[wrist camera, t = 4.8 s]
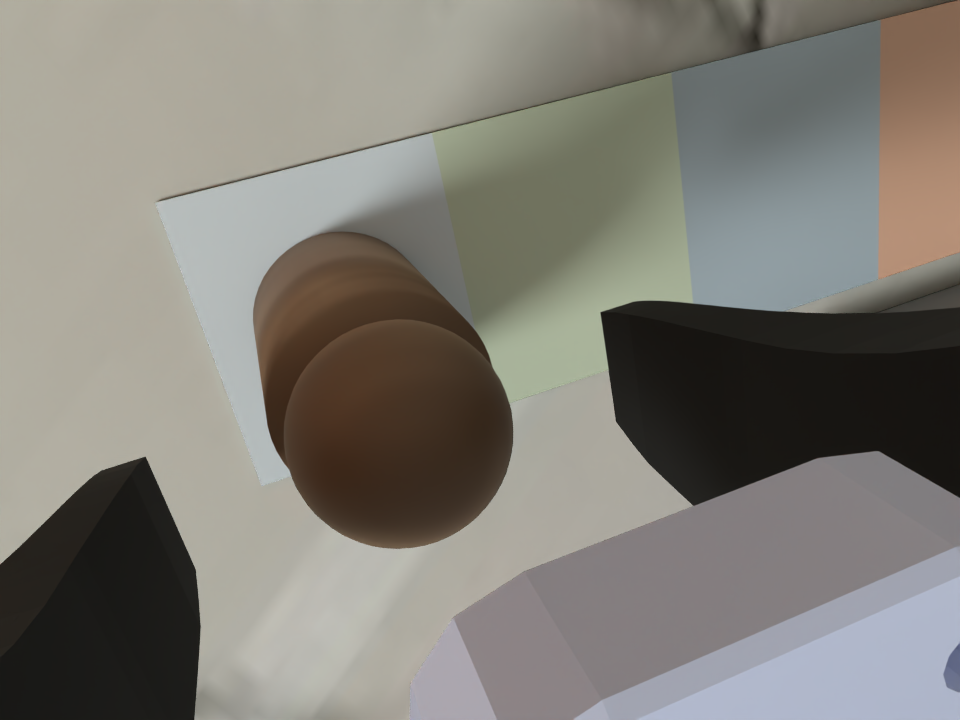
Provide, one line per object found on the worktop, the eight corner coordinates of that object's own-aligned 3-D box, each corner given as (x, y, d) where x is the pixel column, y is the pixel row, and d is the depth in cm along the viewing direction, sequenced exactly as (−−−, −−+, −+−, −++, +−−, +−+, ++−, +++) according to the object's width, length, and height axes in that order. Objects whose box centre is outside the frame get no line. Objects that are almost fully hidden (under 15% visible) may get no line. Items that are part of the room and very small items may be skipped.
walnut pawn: (443, 368, 19) (578, 552, 12) (283, 419, 18) (326, 647, 11) (405, 211, 17) (537, 314, 10) (228, 258, 17) (238, 406, 9)
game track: (1037, 224, 24) (1040, 224, 23) (261, 484, 19) (261, 486, 19) (1061, -26, 21) (1065, -27, 21) (155, 202, 16) (154, 202, 16)
